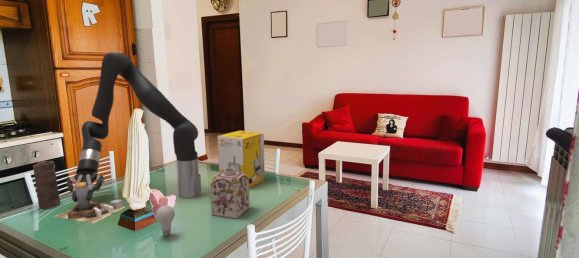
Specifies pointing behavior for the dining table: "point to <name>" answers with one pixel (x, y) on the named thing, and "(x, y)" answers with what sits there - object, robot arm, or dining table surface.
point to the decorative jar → (229, 193)
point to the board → (90, 220)
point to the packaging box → (243, 154)
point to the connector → (82, 196)
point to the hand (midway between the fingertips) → (81, 200)
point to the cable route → (106, 209)
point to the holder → (81, 214)
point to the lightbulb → (165, 218)
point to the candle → (46, 184)
